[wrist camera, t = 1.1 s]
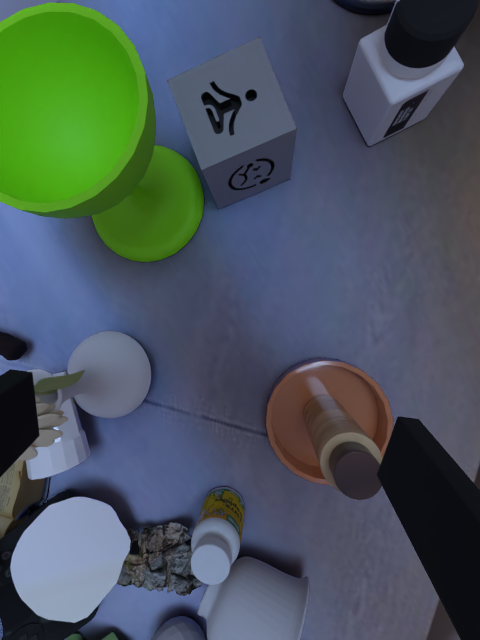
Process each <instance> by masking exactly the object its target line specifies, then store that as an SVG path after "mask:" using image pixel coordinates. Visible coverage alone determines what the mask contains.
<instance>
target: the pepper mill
mask: <svg viewBox="0 0 480 640" xmlns="http://www.w3.org/2000/svg"><path fill="white" fill-rule="evenodd" d="M303 415H304V421H305V424H306V427H307V430H308V432H309V435H310V438H311V441H312V444H313V447H314V450H315V453H316V456H317V459H318V462H319V465H320V468H321V471H322V473H323V476H324V477H325V479H326V480H327V482H328V483H329V484H330V485H331V486H333V487H334V488H336V489H337V490H339V491H341V492H342V493H343V494H345V495H346V496H348V497H350V498H353V499H358V500H362V499H368V498H370V497H372V496H374V495H375V494H376V493H377V492H378V491H379V490H380V488H381V486H382V484H381V482H380V480H379V478H378V476H377V472H378V470H379V467H380V464H381V461H382V455H381V452H380V450H379V448H378V447H377V445H376V444H375V443H374V442H373V441H372V440H371V438H370V437H369V436H368V435H367V434H366V433H365V431H364V430H363V429H362V428H361V427H360V426H359V424H358V423H357V422H356V421H355V420H354V419H353V418H352V416H351V415H350V414H349V413H348V412H347V411H346V409H345V408H344V407H343V406H342V405H341V404H340V403H339V401H338V400H336V399H335V398H333V397H331V396H328V395H319V396H315V397H313V398H312V399H310V400H309V401H308V403H307V404H306V406H305V408H304V413H303Z"/></svg>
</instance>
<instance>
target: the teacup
mask: <svg viewBox="0 0 480 640" xmlns="http://www.w3.org/2000/svg"><path fill="white" fill-rule="evenodd" d="M309 592H310V582H309V579H308V577H304V578H297V577H293V576H291V575H289V574H286V573H284V572H282V571H280V570H278V569H276V568H274V567H272V566H270V565H268V564H266V563H264V562H262V561H260V560H257V559H255V558H252V557H246V556H245V557H241V558H239V559H238V560H236V561H235V562H233V563H232V564H231V567H230V571H229V574H228V576H227V577H226V579H225V580H224V581H223V582H221V583H219V584H216V585H208V587H207V589H206V591H205V593H204V596H203V598H202V601H201V603H200V606H199V609H198V615H199V616H202V617H204V618H205V619H206V621H207V639H208V640H300V638H301V634H302V630H303V625H304V621H305V616H306V611H307V606H308V599H309Z"/></svg>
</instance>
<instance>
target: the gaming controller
mask: <svg viewBox="0 0 480 640" xmlns="http://www.w3.org/2000/svg"><path fill="white" fill-rule="evenodd" d="M73 497H78V496H77V495H76V494H75V493H73V492H71V491H66V492H62V493H59V494H57V495H56V496H55V497H53V498H52V499H50V500H49V501H48V502H46V503H45V504H44V505H42V506H41V507H40V508H39V509H37V510H36V511H35V512H34V513H33V514H31V515H30V516H29V517H28V518H27V519H25V520H24V521H23V522H22V523H21V524H19V525H18V526H17V527H16V528H14V529H13V530H12V531H11V532H9V533H8V534H7V535H5V536H4V537H3V538H1V539H0V618H1V622H2V626H3V637H2V640H64V639H66V638H67V637H68V636H70V635H71V634H73V633H74V632H76V631H77V630H79V629H80V628H81V627H83V626H84V625H85V624H87V623H88V622H89V621H91V620H92V619H93V617H94V616H95V615H96V612H97V610H98V607H99V605H98V606H97V607H96V608H95V609H94V611H93V612H92V613H91V614H90V615H89V616H88V617H86V618H84V619H82V620H80V621H78V622H75V623H73V622H65V621H55V620H48V619H46V618H43V617H41V616H38V615H37V614H36V613H35V612H34V611H33V610H32V609H31V608H30V607H29V606H28V605H27V604H26V603H25V602H24V601H23V600H22V599H21V598H20V596H19V594H18V592H17V591H16V588H15V585H14V582H13V579H12V575H11V569H10V566H11V560H12V555H13V552H14V550H15V548H16V545H17V543H18V541H19V539H20V538H21V536H22V534H23V532H24V531H25V530H26V529H27V528H28V527H29V526H30V525H31V524H32V523H33V522H34V520H35V519H36V518H37V517H38V516H39V515H40V514H41V513H42V512H43V511H44V510H45V509H46V508H47V507H48V506H49V505H52V504H55V503H58V502H61V501H64V500H67V499H70V498H73Z"/></svg>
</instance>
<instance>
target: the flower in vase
mask: <svg viewBox="0 0 480 640" xmlns="http://www.w3.org/2000/svg"><path fill="white" fill-rule="evenodd" d="M27 372H32V373H33V382H34V390H35V399H36V408H37V417H38V425H39V434H40V436H39V437H38V438H37V439H36V440H35V441H34V442H33V443H32V444H31V445H30V447H29V448H28V449H27V450H26V451H25V452H24V453H23V454H22V455H21V456H20V457H19V458H18V459H17V460H16V461H15V462H14V463H16V462H18V461H19V460H31V459H33V458H35V457H36V456H37V455H38V452H37V450H36V449H35V448H34V447H48V446H50V445H52V444H53V443H54V442H55V440H54V439H57V438H60V437H61V436H62V435H63V432H62V431H60V430H55V429H53V427H57V426H60V425H62V424H63V423H65V422H67V421H68V418H67V417H66V416H62V415H63V414H64V412H63V411H62V410H60V408H61V405H62V403H63V402H65V401H66V400H68V399H70V398H71V397H73V398H74V400H75V402H76V403H77V404H78V405H79V406H80V407H81V408H82V409H83V410H85V411H86V412H88V413H89V414H92V415H94V416H97V417H102V418H118V417H122V416H125V415H127V414H129V413H131V412H132V411H134V410H135V409H136V408H137V407H138V406H139V405H140V404H141V403H142V402H143V400H144V399H145V397H146V395H147V393H148V390H149V387H150V383H151V368H150V363H149V360H148V357H147V355H146V353H145V351H144V350H143V348H142V347H141V346H140V344H139V343H137V342H136V341H135V340H134V339H133V338H131V337H130V336H128V335H126V334H123V333H121V332H116V331H103V332H98V333H96V334H93V335H91V336H89V337H88V338H86V339H85V340H84V341H83V342H81V343H80V344H79V345H78V346H77V348H76V349H75V350H74V352H73V353H72V355H71V357H70V360H69V363H68V367H67V375H64V376H56V377H54V376H53V375H52V374H50V373H49V372H47V371H44V370H40V369H32V370H28V371H27ZM14 463H13V464H14Z"/></svg>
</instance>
